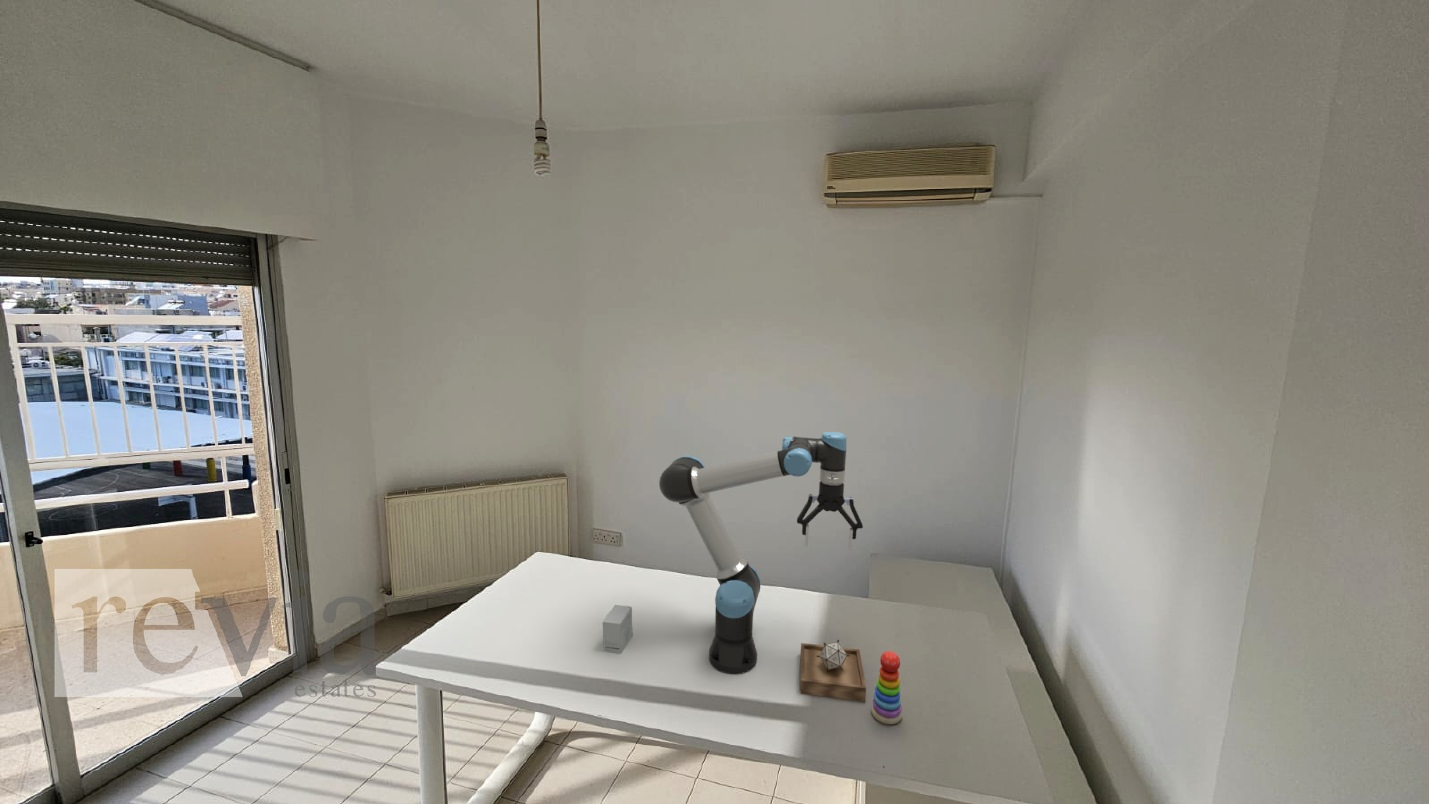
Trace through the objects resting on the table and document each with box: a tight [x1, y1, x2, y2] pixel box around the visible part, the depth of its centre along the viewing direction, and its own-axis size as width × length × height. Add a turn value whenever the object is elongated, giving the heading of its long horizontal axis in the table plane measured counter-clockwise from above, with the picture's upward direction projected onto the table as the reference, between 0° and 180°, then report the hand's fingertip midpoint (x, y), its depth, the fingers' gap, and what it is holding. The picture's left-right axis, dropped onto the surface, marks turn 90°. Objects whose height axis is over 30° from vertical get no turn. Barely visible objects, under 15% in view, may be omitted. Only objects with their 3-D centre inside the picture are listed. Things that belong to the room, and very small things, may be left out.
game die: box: [816, 639, 850, 673], centre depth 161 cm, size 9×8×10 cm
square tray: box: [799, 642, 867, 703], centre depth 161 cm, size 18×18×4 cm
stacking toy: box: [870, 650, 903, 725], centre depth 145 cm, size 8×8×19 cm
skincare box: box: [602, 604, 634, 655], centre depth 175 cm, size 10×6×10 cm, turn 168°
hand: (828, 546), depth 171 cm, fingers open, 13 cm apart
